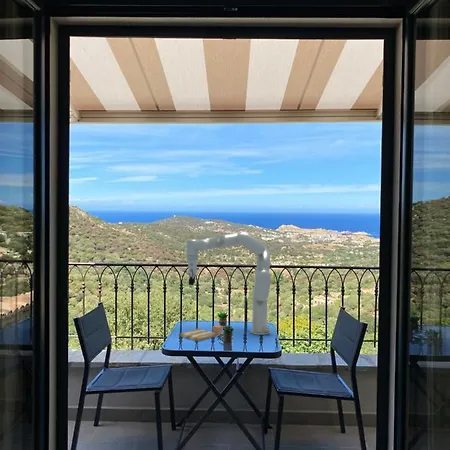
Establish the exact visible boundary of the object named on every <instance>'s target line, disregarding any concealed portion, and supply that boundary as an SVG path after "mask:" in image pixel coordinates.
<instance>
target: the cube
mask: <svg viewBox="0 0 450 450" xmlns="http://www.w3.org/2000/svg"><path fill="white" fill-rule="evenodd" d="M223 327H224V325H220V324H216V325H214V326H212V332H214V333H216V336H221V335H220V334H221V333H222V328H223Z"/></svg>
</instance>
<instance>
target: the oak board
mask: <svg viewBox="0 0 450 450" xmlns="http://www.w3.org/2000/svg"><path fill="white" fill-rule="evenodd" d="M179 337H180V338H183V339H184V338H185V339H187V340H190V341H191V340H192V341H195V342H198V343H199V342H201V341H206V340H209V339H212V338H215V337H217V335H216V333H214V332H213V331H210V330H205V329H201V328H195V329H191V330H188V331H183V332H181V333H180V334H179Z"/></svg>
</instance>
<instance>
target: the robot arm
mask: <svg viewBox="0 0 450 450" xmlns="http://www.w3.org/2000/svg"><path fill="white" fill-rule="evenodd" d="M237 246H242V247H243V248H245V249H246V250H248V251H249V252H251V253H252V254H254V255H256V256H257V257H256V258H257V260H256V270H255V274H254V276H255V282H254V283H255V284H254V287H253V288H252V321H251V322H252V323H251V324H252V325H251V326H252V327H251V329H249V333H250V334H253V335H257V336H258V335H259V336H264V335H268V334H269V333H271V332H272V328H269V325H268V298H269V296H270V289H271V288H270V287H271V280H272V276H271V273H270V270H271V269H270V267H271V253H270V251H269V249H268V247H267V246H266V245H265V244H264V243H263V242H261V241H260V240H258V239H257V238H255V237H253V236H252V235H250V234H249V233H247V232H246V231H239V232H234V233H228V234H222V235H219V236H214V237H213V236H212V237H207V238H202V239H195V238H191V239H189V238H188V239H187V240H186V261H188V263H187V264H188V265H187V268H188V269H187V274H188V276H189V277H188V286H194V285H195V283H196V276H197V274H198V273H197V271H198V270H197V269H198V266H197V265H198V264H197V263H198V262H197V261H199V251H203V252H204V251H208V250H212V249H218V248H223V249H225V248H226V249H227V248H232V247H237Z"/></svg>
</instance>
